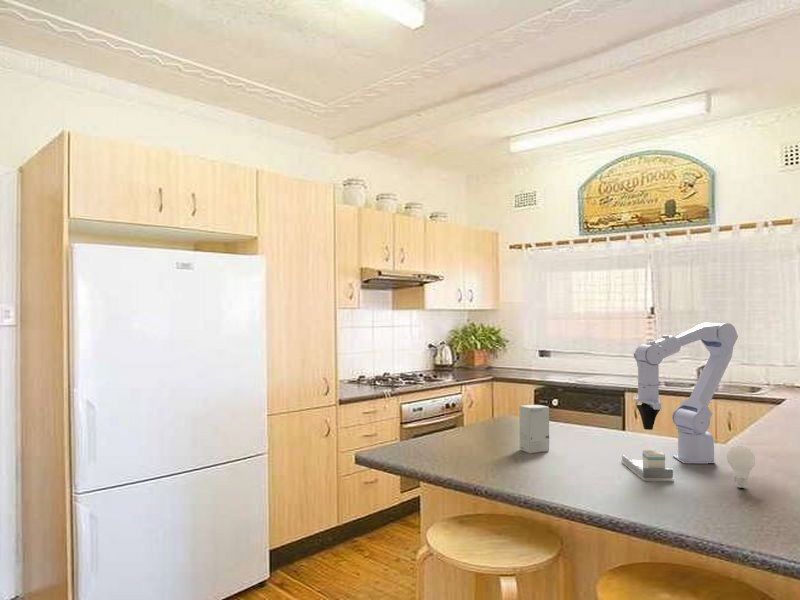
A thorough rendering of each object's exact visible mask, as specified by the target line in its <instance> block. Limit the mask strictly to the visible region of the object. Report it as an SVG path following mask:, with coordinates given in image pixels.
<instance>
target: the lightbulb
mask: <svg viewBox="0 0 800 600" xmlns="http://www.w3.org/2000/svg"><path fill="white" fill-rule="evenodd" d="M726 460H727V462H728V464H729V466H730V467H731V469H732V472H733V475H734V476H735V477H734V478H735V486H736V487H739V488H738V489H740V488H744V489H746V488H748V478H749V476H750V475H749V474H750V473H751V471H752V469H753V468H754V467H755V464H756V456H755V454H754V452H753V451H752V450H751V449H750V448H748V447H746V446H743V445H735V446H732V447H731V448H730V449H729V450H728V452H727V454H726Z"/></svg>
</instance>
